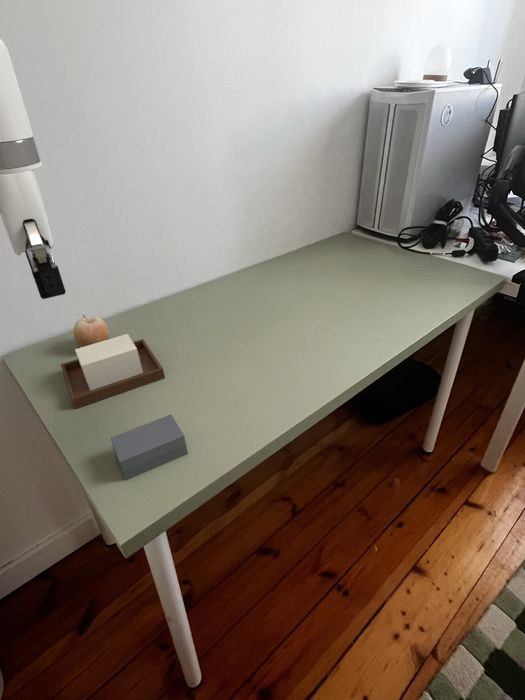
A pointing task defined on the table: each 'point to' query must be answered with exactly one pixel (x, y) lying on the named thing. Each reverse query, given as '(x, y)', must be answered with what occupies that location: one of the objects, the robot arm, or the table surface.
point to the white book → (106, 353)
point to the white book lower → (114, 378)
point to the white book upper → (112, 369)
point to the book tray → (85, 396)
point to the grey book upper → (147, 442)
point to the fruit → (90, 331)
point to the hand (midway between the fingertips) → (48, 283)
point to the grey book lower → (154, 462)
